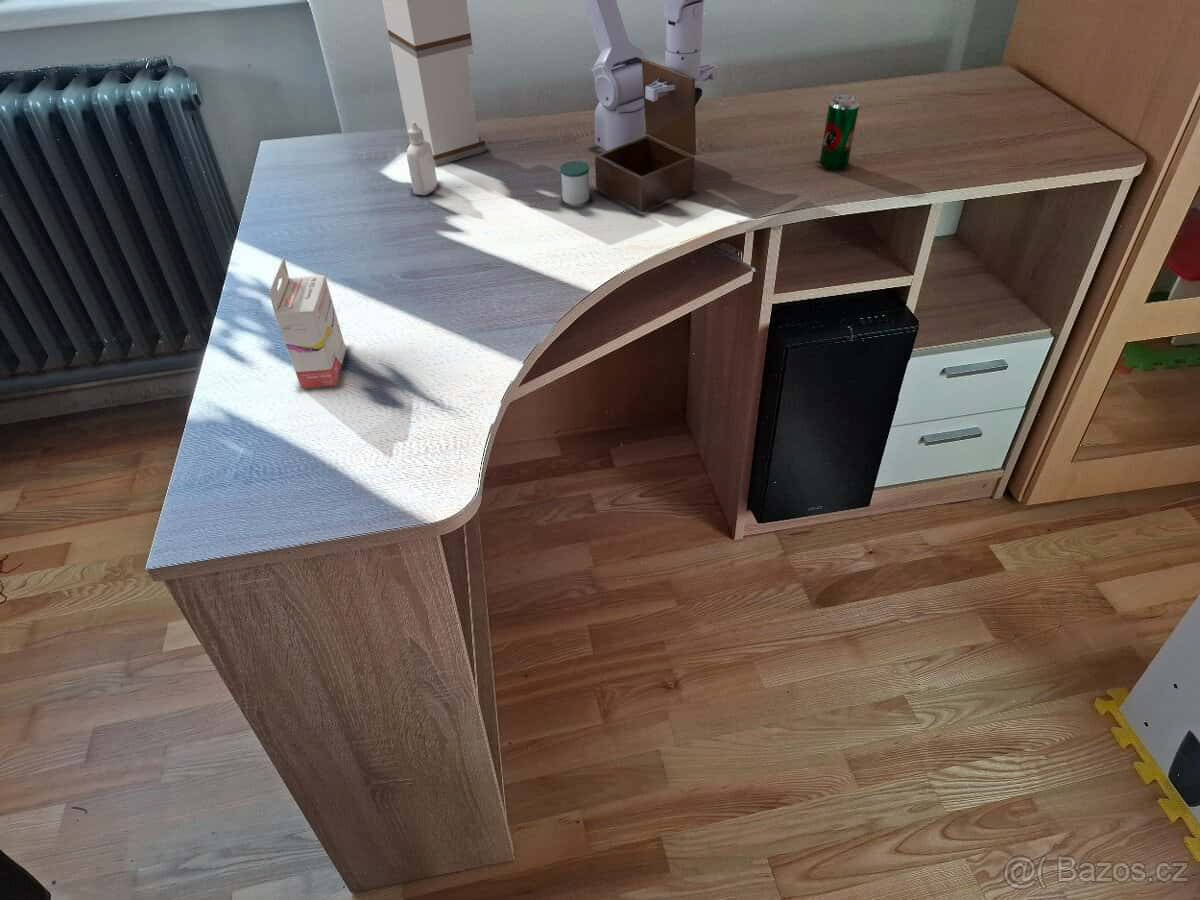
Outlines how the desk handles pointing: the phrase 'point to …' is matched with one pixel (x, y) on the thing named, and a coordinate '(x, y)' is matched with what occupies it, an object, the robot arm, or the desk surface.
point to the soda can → (839, 131)
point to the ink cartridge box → (308, 327)
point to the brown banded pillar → (435, 73)
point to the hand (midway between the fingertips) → (679, 131)
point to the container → (575, 182)
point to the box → (644, 173)
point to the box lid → (671, 108)
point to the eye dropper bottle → (420, 162)
